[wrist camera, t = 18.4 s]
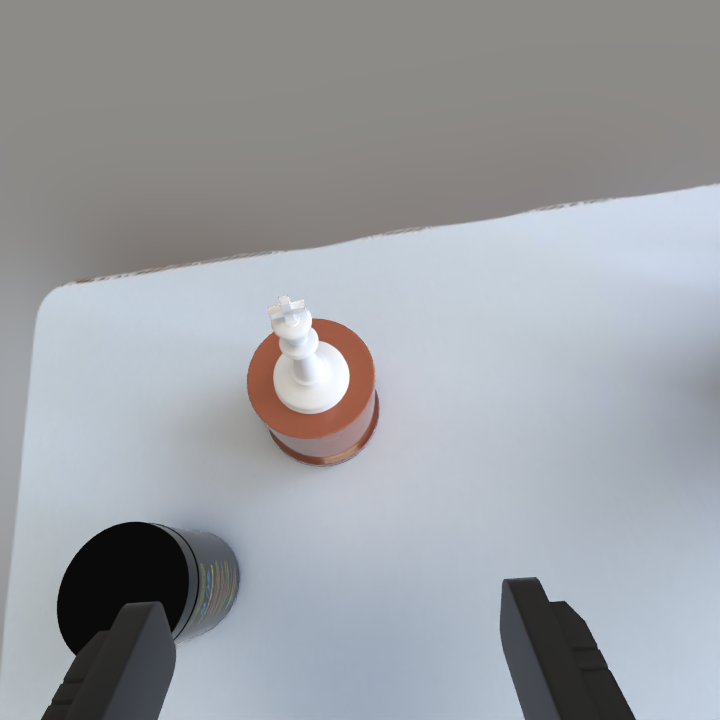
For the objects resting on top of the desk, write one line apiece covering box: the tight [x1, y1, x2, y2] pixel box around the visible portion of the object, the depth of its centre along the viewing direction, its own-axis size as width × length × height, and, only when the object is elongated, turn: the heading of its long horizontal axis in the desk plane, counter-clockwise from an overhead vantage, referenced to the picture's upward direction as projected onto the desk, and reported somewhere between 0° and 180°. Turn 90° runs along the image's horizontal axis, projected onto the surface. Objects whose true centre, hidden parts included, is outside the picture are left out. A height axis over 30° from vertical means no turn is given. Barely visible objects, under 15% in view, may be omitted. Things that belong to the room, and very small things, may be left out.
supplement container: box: [57, 522, 239, 656], centre depth 29 cm, size 7×7×10 cm
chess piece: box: [268, 296, 349, 414], centre depth 26 cm, size 5×5×10 cm
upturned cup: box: [247, 319, 379, 467], centre depth 35 cm, size 9×9×8 cm
